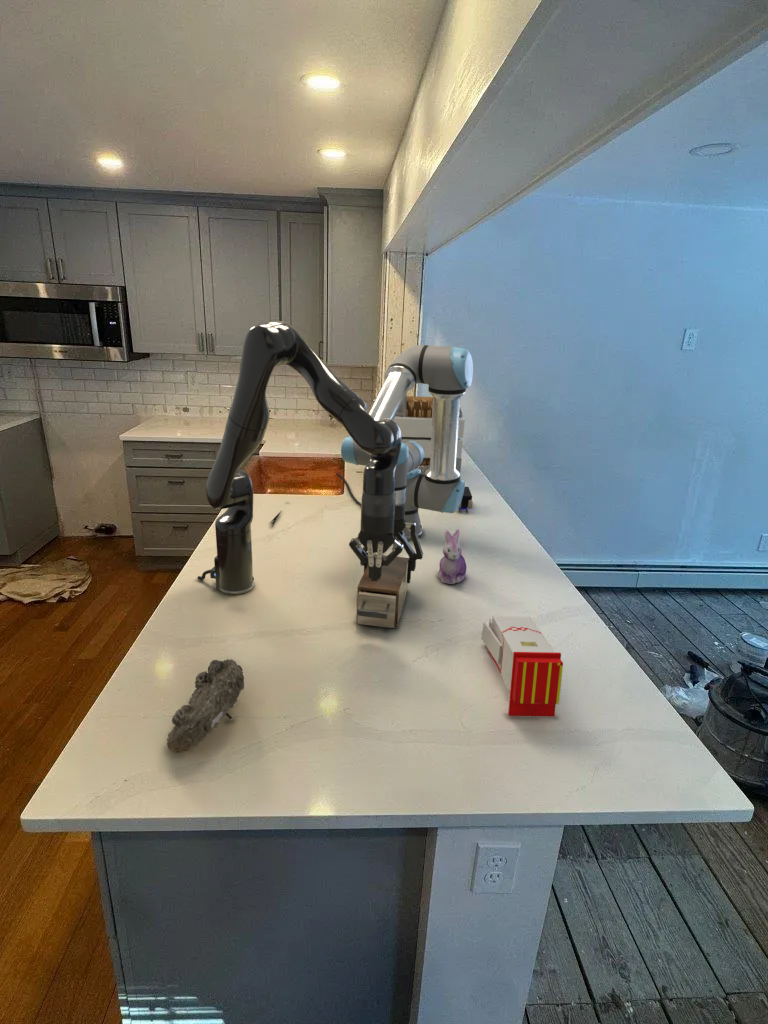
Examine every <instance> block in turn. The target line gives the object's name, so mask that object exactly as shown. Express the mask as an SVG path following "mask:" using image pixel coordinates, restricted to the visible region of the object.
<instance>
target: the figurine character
mask: <svg viewBox="0 0 768 1024" xmlns="http://www.w3.org/2000/svg"><path fill="white" fill-rule="evenodd" d="M473 502H474V501H473V495H472V492H471V489H470V486H465V488H464V493H463V497H462V500H461V503H460V505H459V507H458V512H459V513H462V511H465V512H466V513H469V510H468V509H470V510H471V509H473V507H474V503H473Z"/></svg>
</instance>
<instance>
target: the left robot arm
mask: <svg viewBox="0 0 768 1024" xmlns="http://www.w3.org/2000/svg"><path fill="white" fill-rule="evenodd" d="M282 365H287V366H289V367H290V368H292V369H293V370H294V371H296V372H297V373H299V375H301V376H302V377H303V379H304V380H305V382H306V383H307V384H308V386H309V388H310V390H311V392H312V394H313V395H314V398H315V400H316V401H317V403H318V404H319V405H320V407H321V408H322V409H323V410H324V411H325V412H326V413H327V414H329V415H330V416H331V417H332V418H333V419H335V421H337V422H338V423H339V424H340V425H342V426H343V427H344V429H345V430H346V431H347V434H348V436H351V437H352V439H353V440H354V441H355V443H356V444H357V445H358V446H359V447H360V448H361V449H362V450H363V451H364V452H366V453H368V454H369V455H370V460H369V463H368V464H367V465H366V466H364V469H363V473H362V474H363V477H362V478H363V479H362V495H361V501H360V503H361V506H360V531H359V533H358V535H357V537H353V538H351V539H350V540H349V543H348V546H349V547H350V549H351V550H352V551H353V553H354V554H355V555H356V557H357V558H358V560H359V561H361V562H362V563H366V564H368V565H369V578H371V581H378V579H380V578H381V575H382V566H384V565H385V566H388V565H389V564H390V563H391V562H392V561H393V560H394V559H395V558H396V557H399V556H400V554H401V553H402V552H403V551H404V545H403V544H402V543H401V542H400V541H398V540H395V539H396V537H395V535H394V516H395V471H396V467H397V463H398V459H399V454H400V449H401V442H402V436H401V431H400V428H399V426H398V425H397V423H396V422H394V421H393V420H391V419H381V420H378V421H376V420H375V419H374V418H373V417H372V416H371V415H370V414H369V411H368V409H369V407H368V404H367V403H366V401H364V399H363V398H362V397H360V396H359V395H358V394H357V393H356V392H355V391H353V389H351V388H350V387H349V386H347V385H346V384H345V383H344V382H343V381H342V380H341V379H339V378H338V376H337V375H335V373H333V372H332V371H331V369H330V368H329V367H328V366H327V365H326V364H325V363H324V362H323V360H322V359H321V358H320V356H318V355H317V353H316V352H315V351H314V349H312V348H311V346H310V345H309V344H308V343H307V341H306V340H305V339H304V338H303V337H302V336H301V334H299V332H298V331H297V330H296V329H295V328H294V327H293V326H292V325H291V324H290V323H288V322H287V321H283V320H273V321H267V322H263V323H259V324H256V325H254V326H252V327H251V328H250V329H249V330H248V331H247V333H246V335H245V338H244V342H243V347H242V352H241V360H240V367H239V373H238V378H237V382H236V386H235V390H234V394H233V399H232V402H231V406H230V409H229V411H228V415H227V418H226V423H225V428H224V432H223V435H222V438H221V442H220V446H219V448H218V451H217V455H216V457H215V460H214V462H213V464H212V466H211V470H210V471H209V474H208V477H207V480H206V485H205V496H206V500H207V503H208V504H209V505H210V506H211V507H212V508H213V509H215V510H225V511H224V512H223V513H222V514H221V515H220V516H218V517H217V518H216V520H215V523H214V526H215V527H214V528H215V529H214V531H215V543H216V544H215V545H216V556H215V557H214V558H213V561H214V566H213V567H212V568H210V569H207V570H205V571H203V572H202V574H201V576H200V575H198V576H197V578H196V579H197V580H199V581H204V580H205V579H206V575H210V579H214V580H215V589H216V590H217V591H219V592H221V593H223V594H227V595H242V594H246V593H248V592H250V591H251V590H253V588H254V585H255V583H254V582H255V577H254V567H253V565H254V564H253V546H252V545H253V544H252V543H253V542H252V541H253V540H252V523H253V520H254V486H253V485H254V484H253V481H252V478H251V477H250V474H249V473H248V472H247V471H245V470H244V469H241V467H242V465H244V463H245V462H246V461H247V460H248V459H249V458H250V457H251V456H252V455H253V454H254V452H255V451H256V450H257V449H258V448H259V446H260V445H261V444H262V442H263V440H264V438H265V434H266V431H267V428H268V425H269V421H270V407H269V403H268V399H267V388H268V384H269V381H270V378H271V376H272V373H273V371H274V370H275V368H276V367H279V366H282ZM360 542H361V543H362V544H361V543H360ZM360 545H361V546H360ZM362 546H363V547H364V548H365V549H366V550H367V552H368V555H367V554H366V553H365V551H364V550H363V547H362ZM391 547H392V548H391ZM390 548H391V550H392V551H391V552H390V553H389V554H387V555H386V556H387V557H386V558H383V556H384V554H385V553H386V552H387V551H388V550H389V549H390ZM375 554H377V560H376V556H375ZM375 561H376V563H375Z"/></svg>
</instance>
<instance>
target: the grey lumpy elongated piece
mask: <svg viewBox="0 0 768 1024" xmlns="http://www.w3.org/2000/svg"><path fill="white" fill-rule="evenodd" d="M243 670H244V669H243V667H242V665H240V664H237V662H236V661H235V660H234V659H232V658H231V659H227V658H226V659H224V660H223V661H222V660H217V659H212V660H211V661H210V663H209V665H208V666H207V671H201V672H199V673H198V674H197V675H196V676H195V680H194V684H195V685H194V687H195V689H194V690H193V693H192V694H191V697H190V698H189V700H188V704H184V705H182V706H181V707H180V709H177V710H176V711H175V713H174V715H173V716H172V718H171V723H172V724H173V727H172V730H171V731H170V732H168V734H167V738H166V741H167V742H166V745H167V749H168V750H169V751H173V752H174V753H176V754H178V753H182V752H188V751H189V752H192V751H193V750H195V748H196V747H197V746H199V744H200V743H201V742H203V741H204V740H205V739H206V738H207V737H208V736H209V735H210V734H211V733H212V732H214V730H215V729H217V727H218V726H219V724H220V722H221V721H222V720H223V719H224V718H225V716H226V717H227V719H229V720H233V717H232V715H230V714H229V710H230V709H231V708H234V706H235V704H236V703H237V702H238V699H239V697H240V695H241V693H242V691H243V690H245V689H244V688H245V675H244V671H243Z"/></svg>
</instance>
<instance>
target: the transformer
mask: <svg viewBox="0 0 768 1024" xmlns="http://www.w3.org/2000/svg"><path fill="white" fill-rule="evenodd" d="M407 394H408V393H407ZM407 394H406V396H405V398H404V400H403V402H402V404H401V406H400V408H399V410H398V412H397V414H396V416H395V418H394V420H393V421H394V422H396V423H397V425H398V426H399V428H400V431H401V436H402V442H401V443H404V442H406V441H414V442H417V443H418V444H420V445H421V447H422V448H423V451H424V459H423V461H422V463H421V464H420V465H419V466H418V467H430V452H431V430H432V407H433V396H415V395H414V396H413V395H412V396H411V395H407ZM464 429H465V419H464V418H463V411H462V408H461V407H460V411H459V426H458V441H457V456H456V470H457V471H458V472H459V473H460V475H461V472H462V461H463V460H462V453H463V442H464V441H463V440H462V439H463V438H464V431H465V430H464Z"/></svg>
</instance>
